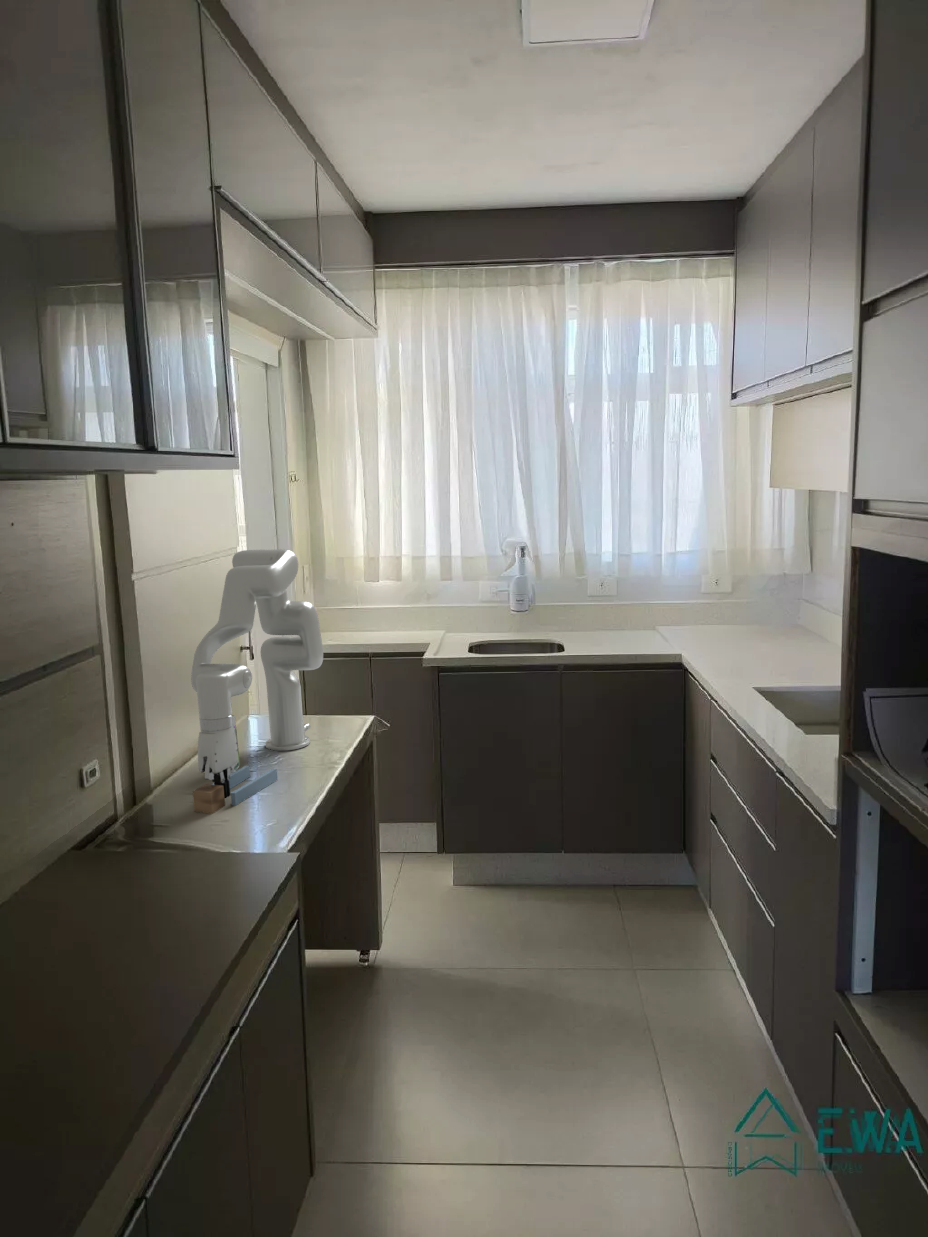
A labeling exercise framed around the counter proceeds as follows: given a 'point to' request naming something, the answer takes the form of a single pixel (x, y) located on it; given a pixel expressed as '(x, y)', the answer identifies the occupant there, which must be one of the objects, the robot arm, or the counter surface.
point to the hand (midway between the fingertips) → (222, 796)
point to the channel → (249, 783)
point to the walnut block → (208, 798)
